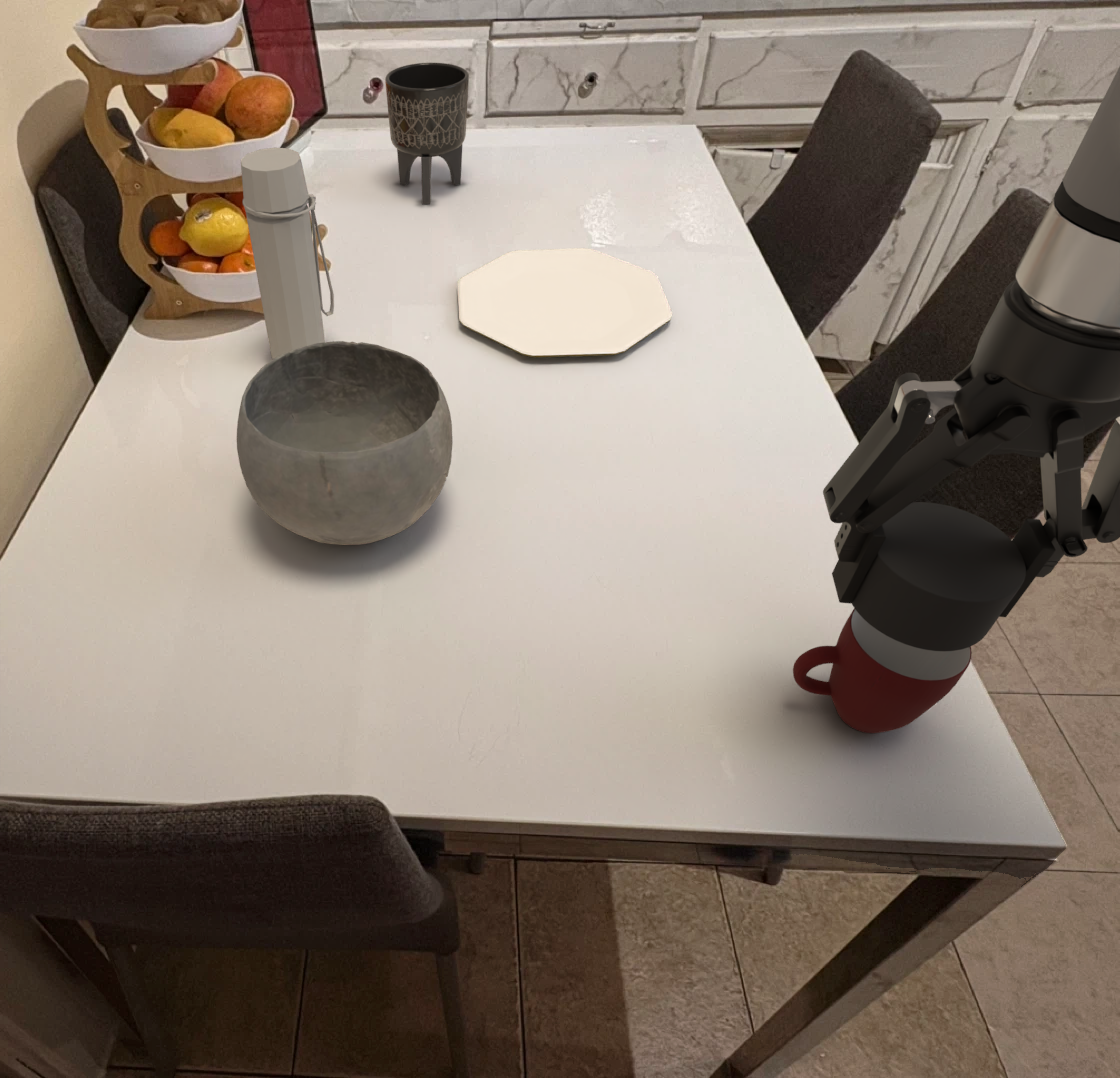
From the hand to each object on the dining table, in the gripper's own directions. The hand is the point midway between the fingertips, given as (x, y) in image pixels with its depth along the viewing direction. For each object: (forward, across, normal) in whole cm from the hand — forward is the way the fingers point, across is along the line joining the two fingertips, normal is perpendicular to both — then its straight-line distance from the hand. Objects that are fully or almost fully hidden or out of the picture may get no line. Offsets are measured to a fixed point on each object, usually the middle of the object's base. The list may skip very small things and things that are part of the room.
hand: (916, 594), depth 58 cm
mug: (+15, 0, 0) cm, 15 cm away
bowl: (+15, +45, -19) cm, 51 cm away
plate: (+15, +24, -61) cm, 68 cm away
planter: (+15, +48, -98) cm, 110 cm away
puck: (0, 0, 0) cm, 0 cm away
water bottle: (+15, +56, -46) cm, 74 cm away
